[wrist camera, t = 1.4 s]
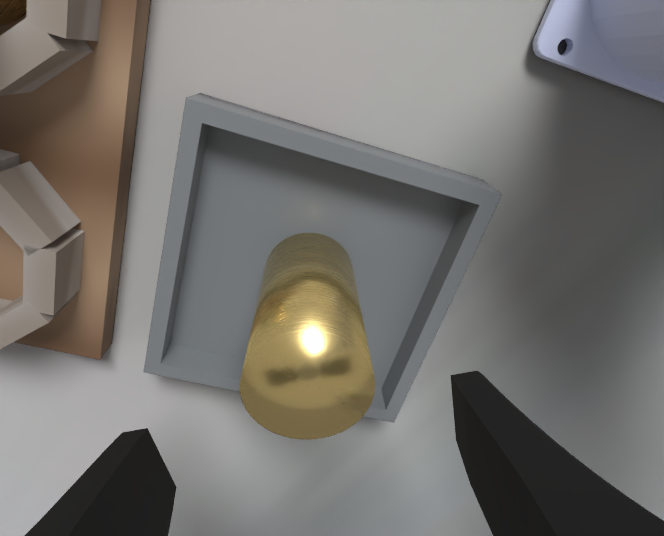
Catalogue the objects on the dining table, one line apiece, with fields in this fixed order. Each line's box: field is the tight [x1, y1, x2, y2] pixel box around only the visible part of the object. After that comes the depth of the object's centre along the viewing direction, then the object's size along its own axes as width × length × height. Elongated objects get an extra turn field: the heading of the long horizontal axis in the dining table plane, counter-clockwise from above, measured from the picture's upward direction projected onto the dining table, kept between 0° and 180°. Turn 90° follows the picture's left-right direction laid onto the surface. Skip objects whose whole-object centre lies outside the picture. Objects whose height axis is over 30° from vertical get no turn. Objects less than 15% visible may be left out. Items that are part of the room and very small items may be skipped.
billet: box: [240, 233, 375, 439], centre depth 15 cm, size 4×4×7 cm
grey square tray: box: [144, 93, 502, 423], centre depth 18 cm, size 11×11×2 cm
